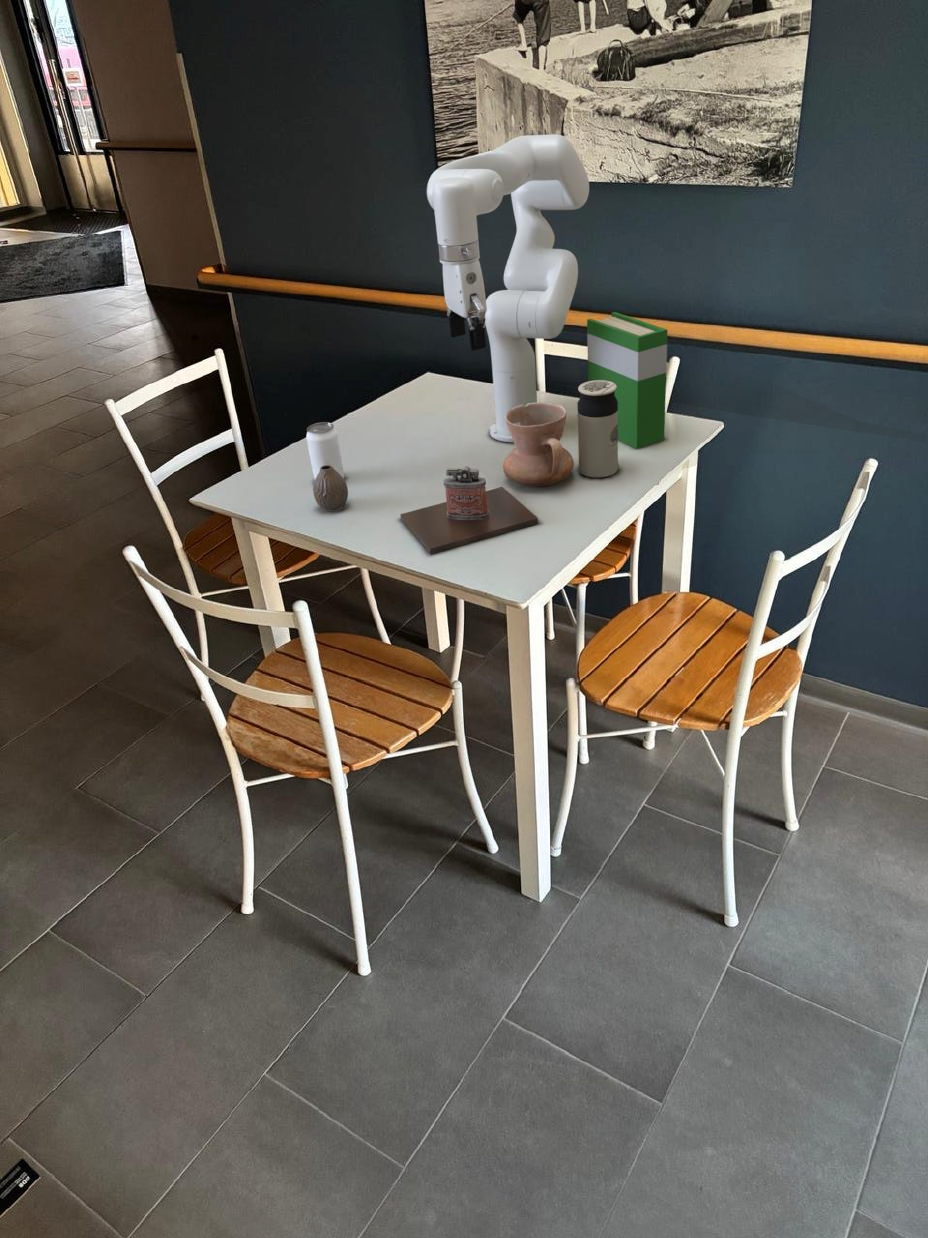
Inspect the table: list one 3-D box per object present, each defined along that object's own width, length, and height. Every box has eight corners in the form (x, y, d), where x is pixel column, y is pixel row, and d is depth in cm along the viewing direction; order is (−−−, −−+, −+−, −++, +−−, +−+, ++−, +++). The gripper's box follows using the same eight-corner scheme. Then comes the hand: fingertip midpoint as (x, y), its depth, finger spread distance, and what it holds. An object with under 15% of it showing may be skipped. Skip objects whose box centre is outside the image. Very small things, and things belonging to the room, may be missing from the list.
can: (315, 475, 205) (305, 423, 199) (345, 471, 206) (336, 419, 199) (314, 488, 200) (303, 435, 193) (344, 484, 200) (335, 431, 194)
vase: (336, 517, 188) (328, 476, 183) (309, 510, 191) (301, 471, 186) (357, 502, 192) (350, 462, 188) (330, 496, 196) (323, 457, 191)
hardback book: (588, 424, 215) (587, 319, 202) (615, 416, 218) (615, 311, 205) (636, 448, 202) (638, 337, 189) (664, 439, 205) (667, 329, 192)
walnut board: (502, 491, 191) (502, 486, 190) (538, 523, 178) (538, 517, 177) (400, 519, 184) (400, 514, 184) (430, 554, 172) (429, 548, 171)
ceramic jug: (491, 471, 199) (486, 407, 191) (553, 455, 203) (550, 392, 195) (525, 504, 185) (521, 437, 177) (591, 487, 189) (590, 420, 181)
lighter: (490, 511, 181) (486, 464, 176) (487, 520, 178) (482, 471, 173) (449, 511, 183) (444, 464, 177) (445, 519, 180) (440, 471, 174)
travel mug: (571, 473, 195) (568, 389, 185) (594, 459, 200) (593, 376, 190) (602, 482, 190) (602, 396, 180) (625, 467, 195) (625, 383, 185)
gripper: (497, 256, 169) (504, 349, 179) (459, 239, 182) (467, 326, 192) (459, 264, 167) (468, 358, 176) (423, 246, 180) (433, 335, 190)
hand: (467, 342), depth 184 cm, fingers open, 9 cm apart
